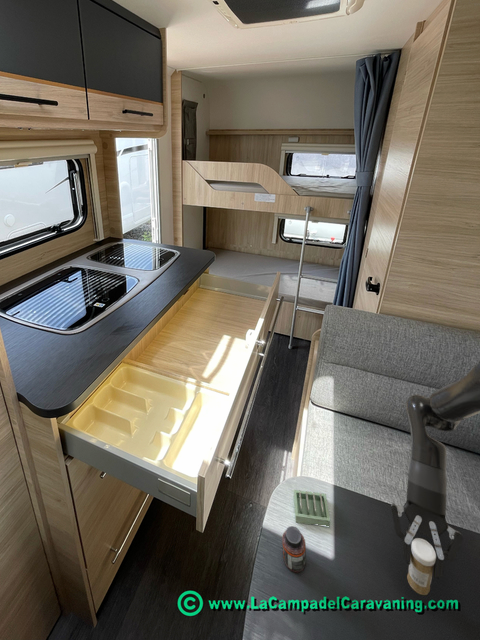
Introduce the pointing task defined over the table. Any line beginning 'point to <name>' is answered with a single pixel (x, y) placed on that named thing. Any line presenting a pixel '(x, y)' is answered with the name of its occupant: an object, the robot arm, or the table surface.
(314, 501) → the drainer rack
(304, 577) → the table surface
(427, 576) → the sprinkles bottle
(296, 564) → the supplement bottle
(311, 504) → the drainer
